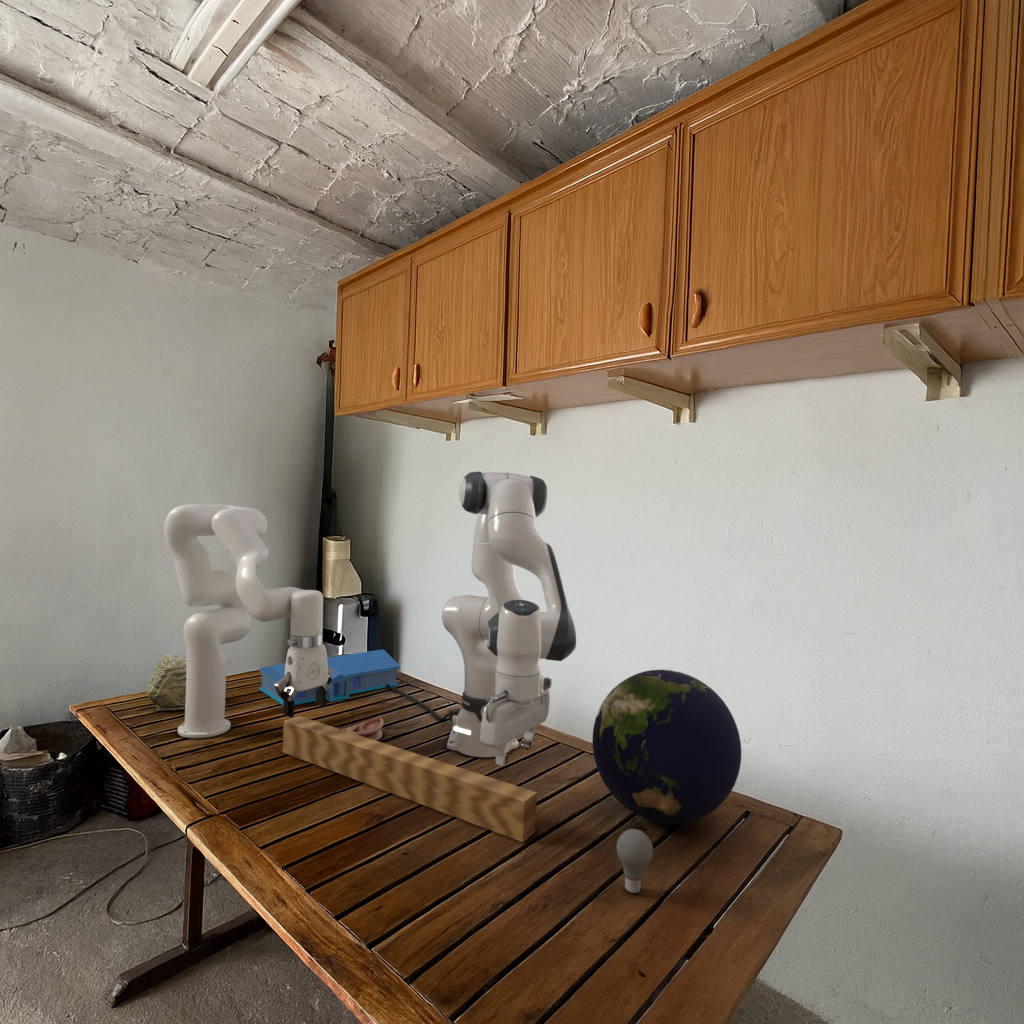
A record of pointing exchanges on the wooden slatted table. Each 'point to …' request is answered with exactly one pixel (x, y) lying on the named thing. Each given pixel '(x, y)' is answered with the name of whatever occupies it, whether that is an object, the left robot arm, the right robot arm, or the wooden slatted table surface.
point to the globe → (666, 746)
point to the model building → (341, 676)
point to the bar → (415, 777)
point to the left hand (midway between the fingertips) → (305, 710)
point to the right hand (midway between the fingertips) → (514, 756)
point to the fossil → (169, 683)
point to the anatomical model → (368, 729)
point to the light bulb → (634, 857)
